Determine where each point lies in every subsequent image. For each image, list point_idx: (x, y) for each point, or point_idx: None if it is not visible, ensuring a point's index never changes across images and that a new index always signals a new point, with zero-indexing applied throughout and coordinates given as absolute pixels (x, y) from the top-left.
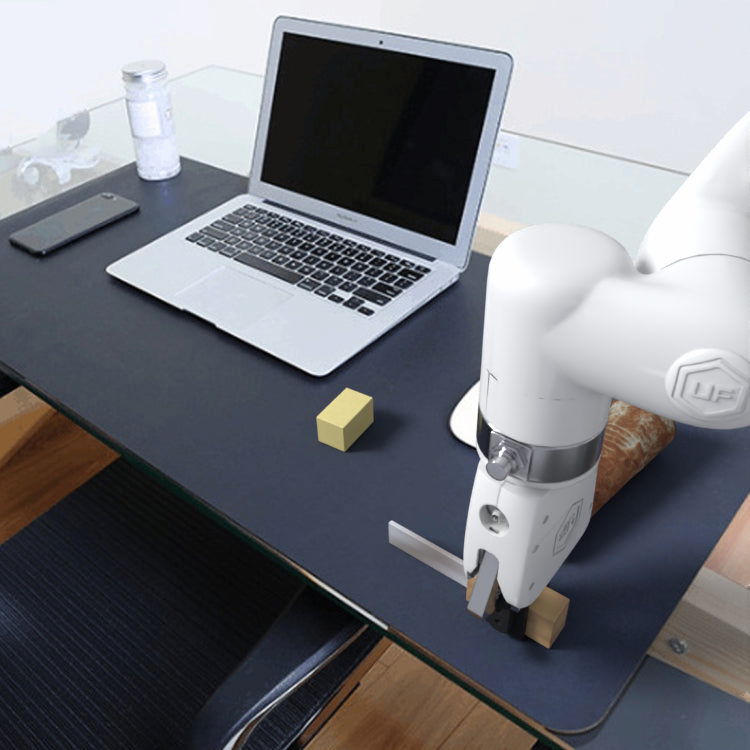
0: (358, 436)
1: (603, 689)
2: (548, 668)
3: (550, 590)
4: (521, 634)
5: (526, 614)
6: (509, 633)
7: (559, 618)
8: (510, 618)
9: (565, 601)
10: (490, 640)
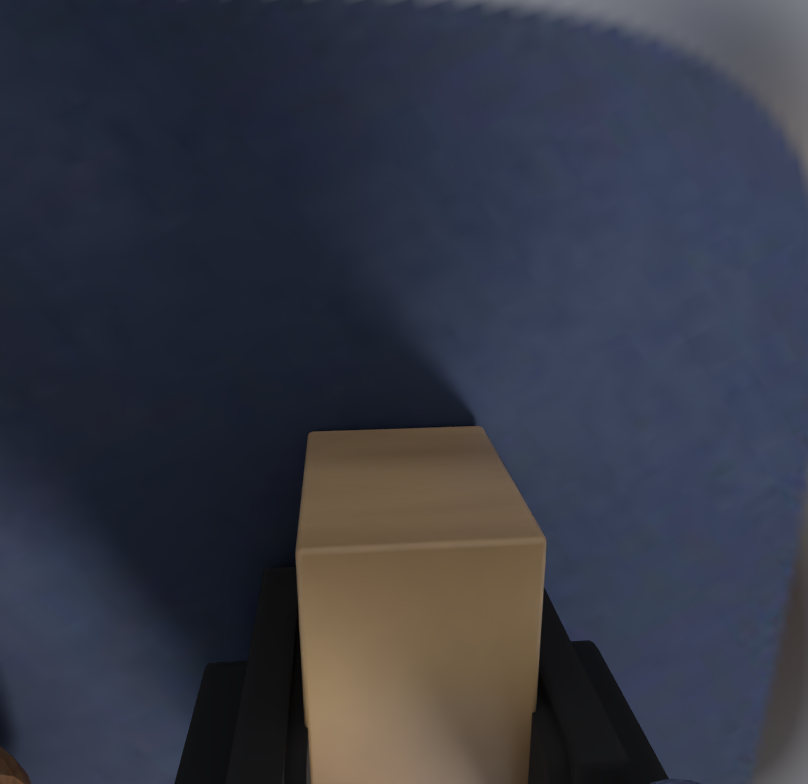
0: None
1: (533, 79)
2: (577, 373)
3: (317, 680)
4: None
5: (571, 686)
6: None
7: (445, 514)
8: (624, 724)
9: (337, 565)
10: None
